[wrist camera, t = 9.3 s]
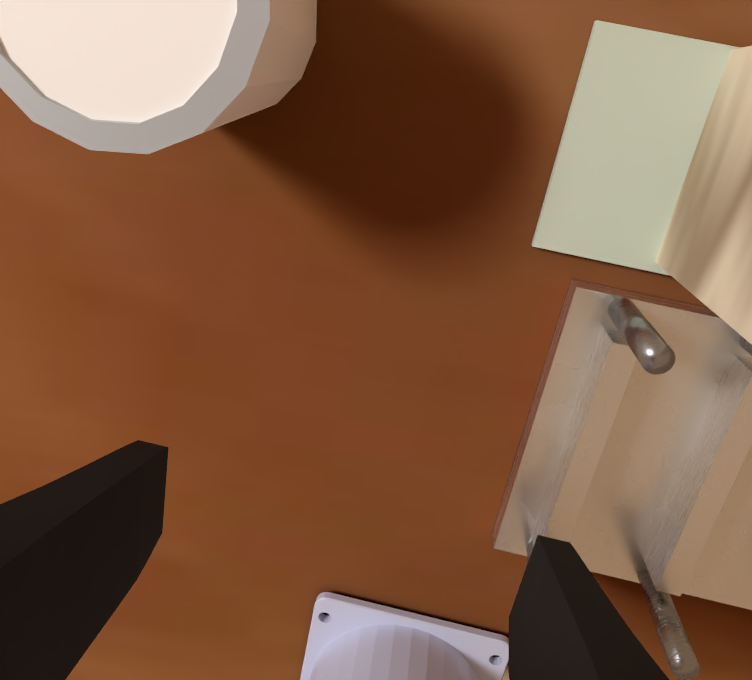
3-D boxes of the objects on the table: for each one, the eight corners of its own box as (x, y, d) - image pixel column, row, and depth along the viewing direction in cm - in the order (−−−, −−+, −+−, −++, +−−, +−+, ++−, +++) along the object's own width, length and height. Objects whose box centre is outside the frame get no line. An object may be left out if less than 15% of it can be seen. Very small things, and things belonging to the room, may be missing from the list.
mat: (854, 312, 20) (860, 316, 19) (531, 244, 20) (532, 246, 20) (963, 91, 17) (972, 92, 17) (594, 21, 18) (596, 20, 17)
